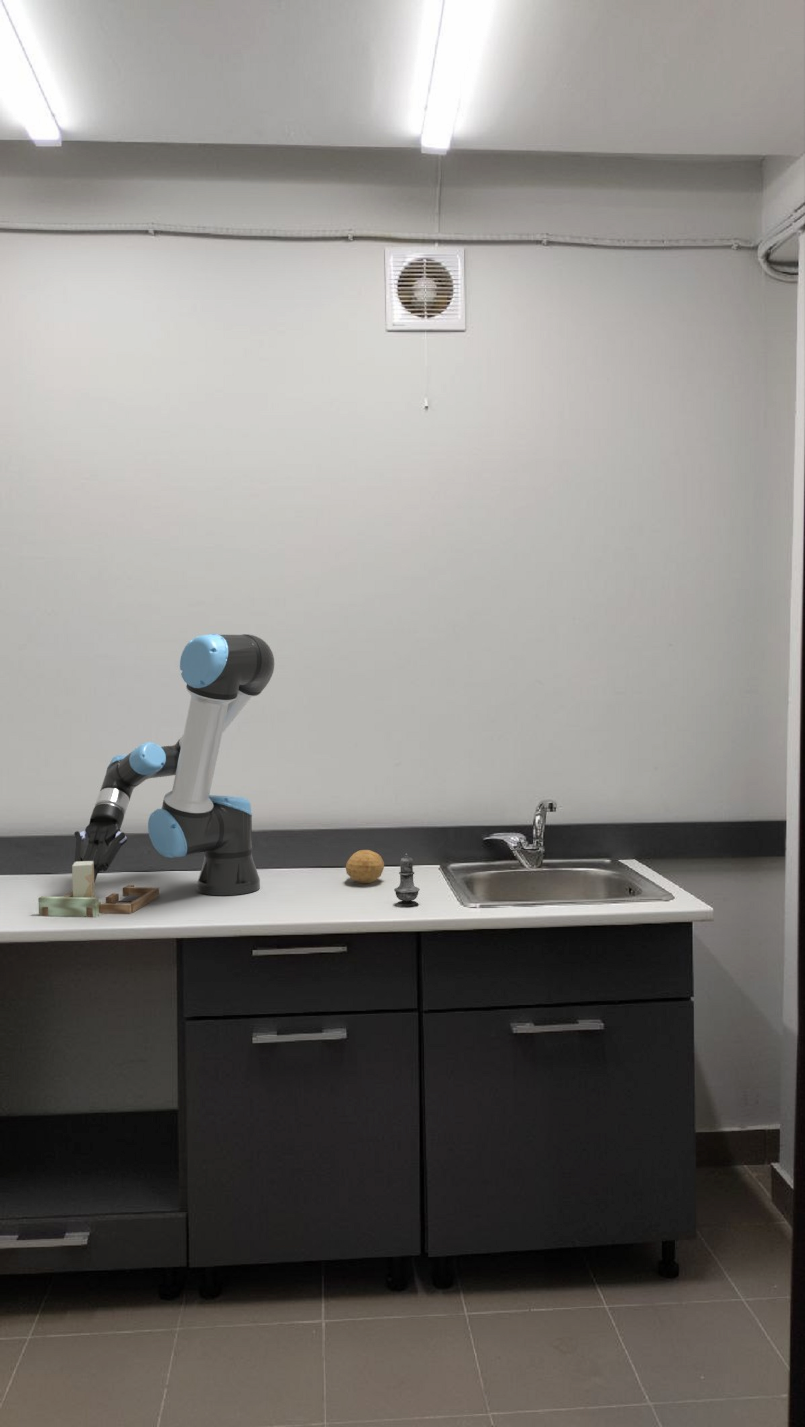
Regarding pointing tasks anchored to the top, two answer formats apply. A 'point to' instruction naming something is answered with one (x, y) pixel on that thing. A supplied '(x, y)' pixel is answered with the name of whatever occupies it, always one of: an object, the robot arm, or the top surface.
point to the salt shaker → (406, 884)
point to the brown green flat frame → (97, 903)
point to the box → (83, 879)
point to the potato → (365, 866)
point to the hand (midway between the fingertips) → (81, 894)
